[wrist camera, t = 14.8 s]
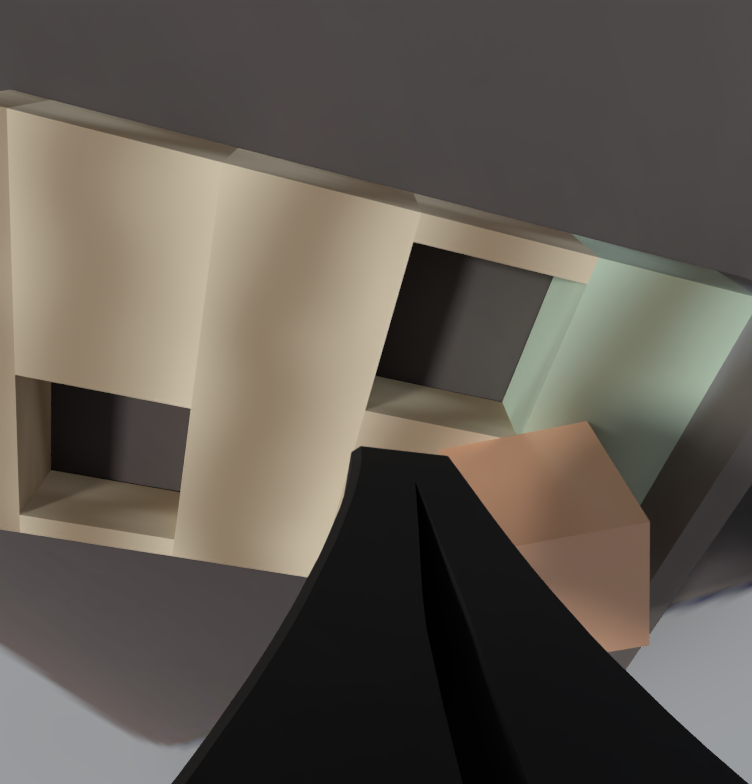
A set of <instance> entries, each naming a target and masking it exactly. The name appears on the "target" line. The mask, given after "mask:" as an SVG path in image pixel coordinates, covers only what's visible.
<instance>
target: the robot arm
mask: <svg viewBox="0 0 752 784" xmlns="http://www.w3.org/2000/svg"><path fill="white" fill-rule="evenodd" d="M172 784H748V783H747V782H746V781H744V780H743V779H742V778H741V777H740V776H739V775H737V773H735V772H734V771H733V770H732V769H731V768H729V767H728V766H727V765H726V764H725V763H724V762H723V761H721V760H720V759H719V758H718V757H717V756H716V755H715V754H713V753H712V752H711V751H710V750H709V749H707V747H705V746H704V745H703V744H702V743H701V742H700V741H699V740H698V739H697V738H696V737H695V736H693V735H692V734H691V733H690V732H689V731H688V730H687V729H686V728H685V727H684V726H683V725H681V724H680V723H679V722H678V721H677V720H676V719H675V718H674V717H673V716H672V715H671V714H670V713H668V712H667V711H666V710H665V709H664V708H663V707H662V706H661V705H660V704H659V703H658V702H657V701H656V700H655V699H654V698H653V697H652V696H651V695H650V694H649V693H648V692H647V691H646V690H645V689H644V688H643V687H642V686H641V685H640V684H639V683H638V682H637V681H636V680H635V679H634V678H633V677H632V676H631V675H630V674H629V673H628V672H627V671H626V670H625V669H624V668H623V667H622V666H621V665H620V664H619V663H618V662H617V661H616V660H615V659H614V658H613V657H612V656H611V655H610V654H609V653H608V652H607V651H606V650H605V649H604V648H603V647H602V646H601V645H600V644H599V643H598V642H597V641H596V640H595V639H594V637H593V636H592V635H591V634H590V633H589V632H588V631H587V630H586V629H585V628H584V626H583V625H582V624H581V623H580V622H579V621H578V620H577V619H576V617H575V616H574V615H573V614H572V613H571V612H570V611H569V610H568V609H567V607H566V606H565V605H564V604H563V603H562V602H561V601H560V600H559V598H558V597H557V596H556V595H555V594H554V593H553V592H552V590H551V589H550V588H549V587H548V586H547V585H546V583H545V582H544V581H543V580H542V579H541V577H540V576H539V575H538V574H537V573H536V571H535V570H534V569H533V568H532V567H531V565H530V564H529V563H528V562H527V560H526V559H525V558H524V557H523V555H522V554H521V553H520V551H519V550H518V549H517V548H516V546H515V545H514V544H513V543H512V541H511V540H510V539H509V538H508V536H507V535H506V534H505V532H504V531H503V530H502V528H501V527H500V526H499V524H498V523H497V522H496V520H495V519H494V518H493V516H492V515H491V514H490V512H489V511H488V510H487V508H486V507H485V506H484V504H483V503H482V502H481V500H480V499H479V497H478V496H477V495H476V493H475V492H474V491H473V489H472V488H471V486H470V485H469V484H468V482H467V481H466V480H465V478H464V477H463V475H462V474H461V473H460V471H459V470H458V469H457V467H456V466H455V465H454V463H453V462H452V461H451V459H450V458H449V457H448V456H444V455H435V454H427V453H418V452H409V451H400V450H391V449H383V448H374V447H365V446H360V447H359V448H357V449H355V450H354V451H352V452H351V457H350V463H349V469H348V474H347V480H346V486H345V492H344V497H343V500H342V503H341V506H340V509H339V511H338V513H337V516H336V518H335V521H334V523H333V525H332V528H331V530H330V532H329V535H328V537H327V539H326V542H325V544H324V546H323V548H322V551H321V553H320V555H319V557H318V559H317V561H316V562H315V564H314V566H313V568H312V570H311V572H310V574H309V576H308V578H307V580H306V582H305V583H304V585H303V587H302V589H301V591H300V593H299V595H298V597H297V599H296V601H295V602H294V604H293V606H292V608H291V609H290V611H289V613H288V614H287V616H286V618H285V620H284V621H283V623H282V625H281V626H280V628H279V630H278V631H277V633H276V635H275V636H274V638H273V640H272V641H271V643H270V644H269V646H268V647H267V649H266V651H265V652H264V654H263V655H262V657H261V658H260V660H259V662H258V663H257V665H256V666H255V668H254V669H253V671H252V672H251V674H250V675H249V677H248V678H247V680H246V681H245V683H244V684H243V686H242V687H241V689H240V690H239V691H238V693H237V694H236V696H235V697H234V699H233V700H232V701H231V703H230V704H229V706H228V707H227V709H226V710H225V711H224V713H223V714H222V716H221V717H220V719H219V720H218V722H217V723H216V724H215V726H214V727H213V729H212V730H211V732H210V733H209V734H208V736H207V737H206V738H205V740H204V741H203V743H202V744H201V745H200V747H199V748H198V749H197V751H196V752H195V753H194V755H193V756H192V757H191V759H190V760H189V761H188V763H187V764H186V765H185V767H184V768H183V769H182V771H181V772H180V774H179V775H178V776H177V777H176V779H175V780H174V781H173V782H172Z"/></svg>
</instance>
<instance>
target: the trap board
mask: <svg viewBox="0 0 752 784" xmlns="http://www.w3.org/2000/svg"><path fill="white" fill-rule="evenodd" d="M413 242H416V243H420V244H424V245H428V246H432V247H436V248H440V249H445V250H449V251H453V252H457V253H461V254H465V255H469V256H473V257H477V258H481V259H485V260H490V261H494V262H498V263H502V264H506V265H510V266H514V267H518V268H522V269H526V270H530V271H534V272H539V273H543V274H547V275H551V276H554V277H553V279H552V282H551V284H550V286H549V289H548V291H547V294H546V296H545V299H544V301H543V304H542V306H541V309H540V311H539V314H538V316H537V318H536V321H535V323H534V326H533V328H532V331H531V333H530V336H529V338H528V341H527V343H526V346H525V348H524V350H523V353H522V355H521V358H520V360H519V363H518V365H517V368H516V370H515V373H514V375H513V378H512V380H511V382H510V385H509V387H508V390H507V392H506V395H505V397H504V400H503V402H498V401H493V400H489V399H484V398H479V397H474V396H469V395H465V394H460V393H455V392H450V391H445V390H441V389H436V388H431V387H426V386H422V385H417V384H412V383H407V382H402V381H398V380H393V379H388V378H383V377H378V376H375V375H376V371H377V368H378V364H379V360H380V357H381V353H382V350H383V346H384V343H385V339H386V336H387V332H388V329H389V325H390V322H391V318H392V315H393V311H394V308H395V304H396V301H397V297H398V294H399V290H400V287H401V283H402V280H403V276H404V273H405V269H406V266H407V262H408V259H409V255H410V252H411V248H412V245H413ZM51 382H55V383H60V384H66V385H71V386H76V387H81V388H86V389H92V390H97V391H102V392H107V393H112V394H118V395H123V396H128V397H133V398H138V399H144V400H149V401H154V402H159V403H165V404H170V405H175V406H180V407H185V408H191V412H190V420H189V428H188V436H187V444H186V452H185V459H184V467H183V475H182V483H181V491H180V492H175V491H170V490H164V489H158V488H152V487H146V486H140V485H135V484H129V483H123V482H117V481H111V480H105V479H100V478H94V477H88V476H82V475H76V474H71V473H65V472H59V471H53V470H51ZM584 421H587V422H588V423H589V425H590V427H591V428H592V430H593V431H594V433H595V435H596V436H597V438H598V439H599V441H600V443H601V444H602V446H603V447H604V449H605V451H606V452H607V454H608V455H609V457H610V459H611V460H612V462H613V463H614V465H615V467H616V468H617V470H618V471H619V473H620V475H621V476H622V478H623V479H624V481H625V483H626V484H627V486H628V487H629V489H630V491H631V492H632V494H633V495H634V497H635V499H636V500H637V502H638V503H639V505H640V507H641V508H642V510H643V511H644V513H645V515H646V516H647V518H648V519H649V521H650V597H649V634H650V633H651V631H652V630H653V629H654V627H655V626H656V624H657V623H658V621H659V620H660V618H661V617H662V615H663V614H664V612H665V611H666V610H667V608H668V607H669V605H670V604H671V602H672V601H673V599H674V598H675V596H676V595H677V593H678V592H679V590H680V589H681V587H682V586H683V585H684V583H685V582H686V580H687V579H688V577H689V576H690V574H691V573H692V571H693V570H694V568H695V567H696V565H697V564H698V563H699V561H700V560H701V558H702V557H703V555H704V554H705V552H706V551H707V549H708V548H709V546H710V545H711V543H712V542H713V540H714V539H715V538H716V536H717V535H718V533H719V532H720V530H721V529H722V527H723V526H724V524H725V523H726V521H727V520H728V518H729V517H730V516H731V514H732V513H733V511H734V510H735V508H736V507H737V505H738V504H739V502H740V501H741V499H742V498H743V496H744V495H745V493H746V492H747V491H748V489H749V488H750V486H751V485H752V281H750V280H749V279H746V278H742V277H738V276H734V275H730V274H727V273H723V272H719V271H715V270H711V269H707V268H703V267H699V266H695V265H692V264H688V263H684V262H680V261H676V260H672V259H668V258H664V257H660V256H657V255H653V254H649V253H645V252H641V251H637V250H633V249H629V248H625V247H622V246H618V245H614V244H610V243H606V242H602V241H598V240H594V239H590V238H587V237H583V236H579V235H575V234H571V233H567V232H563V231H559V230H555V229H552V228H548V227H544V226H540V225H536V224H532V223H528V222H524V221H520V220H517V219H513V218H509V217H505V216H501V215H497V214H493V213H489V212H485V211H481V210H478V209H474V208H470V207H466V206H462V205H458V204H454V203H450V202H446V201H443V200H439V199H435V198H431V197H427V196H423V195H419V194H415V193H411V192H408V191H404V190H400V189H396V188H392V187H388V186H384V185H380V184H376V183H373V182H369V181H365V180H361V179H357V178H353V177H349V176H345V175H341V174H338V173H334V172H330V171H326V170H322V169H318V168H314V167H310V166H306V165H303V164H299V163H295V162H291V161H287V160H283V159H279V158H275V157H271V156H268V155H264V154H260V153H256V152H252V151H248V150H244V149H240V148H236V147H233V146H229V145H225V144H221V143H217V142H213V141H209V140H205V139H201V138H197V137H194V136H190V135H186V134H182V133H178V132H174V131H170V130H166V129H162V128H159V127H155V126H151V125H147V124H143V123H139V122H135V121H131V120H127V119H124V118H120V117H116V116H112V115H108V114H104V113H100V112H96V111H92V110H89V109H85V108H81V107H77V106H73V105H69V104H65V103H61V102H57V101H54V100H50V99H46V98H42V97H38V96H34V95H30V94H26V93H22V92H19V91H15V90H6V91H0V529H1V530H8V531H14V532H21V533H27V534H33V535H40V536H46V537H53V538H59V539H65V540H72V541H78V542H85V543H91V544H97V545H104V546H110V547H117V548H123V549H130V550H136V551H142V552H149V553H155V554H162V555H168V556H174V557H181V558H187V559H194V560H200V561H206V562H213V563H219V564H226V565H232V566H238V567H245V568H251V569H258V570H264V571H271V572H277V573H283V574H290V575H296V576H303V577H308V576H309V574H310V572H311V570H312V568H313V566H314V564H315V562H316V561H317V559H318V557H319V555H320V553H321V551H322V548H323V546H324V544H325V542H326V539H327V537H328V535H329V532H330V530H331V528H332V525H333V523H334V521H335V518H336V516H337V513H338V511H339V509H340V506H341V503H342V500H343V497H344V492H345V486H346V480H347V474H348V469H349V463H350V457H351V452H352V451H354V450H355V449H357V448H359V447H360V446H365V447H374V448H383V449H391V450H400V451H409V452H418V453H427V454H435V455H440V450H442V449H447V448H452V447H457V446H462V445H467V444H472V443H477V442H482V441H487V440H493V439H498V438H503V437H508V436H513V435H518V434H523V433H528V432H533V431H538V430H543V429H549V428H554V427H559V426H564V425H569V424H574V423H579V422H584ZM640 648H641V647H635V648H630V649H624V650H618V651H612V652H608V653H609V654H610V655H611V656H612V657H613V658H614V659H615V660H616V661H617V662H618V663H619V664H620V665H621V666H622V667H623V668H624V669H625V670H626V668H627V667H628V665H629V664H630V662H631V661H632V659H633V658H634V657H635V655H636V653H637V652H638V650H639V649H640Z"/></svg>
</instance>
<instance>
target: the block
mask: <svg viewBox="0 0 752 784" xmlns="http://www.w3.org/2000/svg"><path fill="white" fill-rule="evenodd" d="M440 455H444V456H448V457H449V458H450V459H451V461H452V462H453V463H454V465H455V466H456V467H457V469H458V470H459V471H460V473H461V474H462V475H463V477H464V478H465V480H466V481H467V482H468V484H469V485H470V486H471V488H472V489H473V491H474V492H475V493H476V495H477V496H478V497H479V499H480V500H481V502H482V503H483V504H484V506H485V507H486V508H487V510H488V511H489V512H490V514H491V515H492V516H493V518H494V519H495V520H496V522H497V523H498V524H499V526H500V527H501V528H502V530H503V531H504V532H505V534H506V535H507V536H508V538H509V539H510V540H511V541H512V543H513V544H514V545H515V546H516V548H517V549H518V550H519V551H520V553H521V554H522V555H523V557H524V558H525V559H526V560H527V562H528V563H529V564H530V565H531V567H532V568H533V569H534V570H535V571H536V573H537V574H538V575H539V576H540V577H541V579H542V580H543V581H544V582H545V583H546V585H547V586H548V587H549V588H550V589H551V590H552V592H553V593H554V594H555V595H556V596H557V597H558V598H559V600H560V601H561V602H562V603H563V604H564V605H565V606H566V607H567V609H568V610H569V611H570V612H571V613H572V614H573V615H574V616H575V617H576V619H577V620H578V621H579V622H580V623H581V624H582V625H583V626H584V628H585V629H586V630H587V631H588V632H589V633H590V634H591V635H592V636H593V637H594V639H595V640H596V641H597V642H598V643H599V644H600V645H601V646H602V647H603V648H604V649H605V650H606V651H607V652H612V651H618V650H624V649H630V648H635V647H641V646H647V645H649V597H650V521H649V519H648V518H647V516H646V515H645V513H644V511H643V510H642V508H641V507H640V505H639V503H638V502H637V500H636V499H635V497H634V495H633V494H632V492H631V491H630V489H629V487H628V486H627V484H626V483H625V481H624V479H623V478H622V476H621V475H620V473H619V471H618V470H617V468H616V467H615V465H614V463H613V462H612V460H611V459H610V457H609V455H608V454H607V452H606V451H605V449H604V447H603V446H602V444H601V443H600V441H599V439H598V438H597V436H596V435H595V433H594V431H593V430H592V428H591V427H590V425H589V423H588V422H587V421H584V422H579V423H574V424H569V425H564V426H559V427H554V428H549V429H543V430H538V431H533V432H528V433H523V434H518V435H513V436H508V437H503V438H498V439H493V440H487V441H482V442H477V443H472V444H467V445H462V446H457V447H452V448H447V449H442V450H440Z"/></svg>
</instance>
